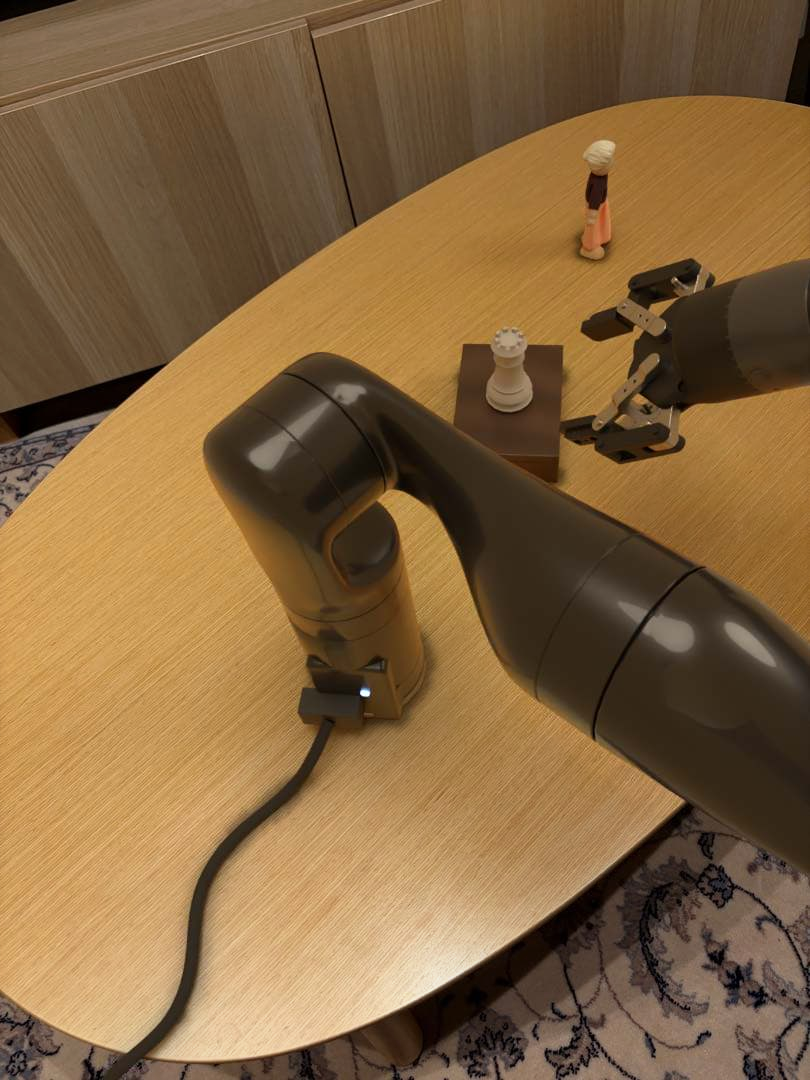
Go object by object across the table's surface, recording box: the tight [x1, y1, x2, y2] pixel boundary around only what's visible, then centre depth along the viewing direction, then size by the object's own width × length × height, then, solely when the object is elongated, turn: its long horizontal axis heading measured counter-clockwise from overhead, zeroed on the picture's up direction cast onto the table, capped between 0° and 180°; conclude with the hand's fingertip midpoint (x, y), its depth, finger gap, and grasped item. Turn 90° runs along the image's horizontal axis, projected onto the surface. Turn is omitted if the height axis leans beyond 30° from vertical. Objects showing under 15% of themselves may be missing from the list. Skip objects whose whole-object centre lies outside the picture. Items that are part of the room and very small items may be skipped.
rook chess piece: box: [486, 325, 533, 412], centre depth 79 cm, size 4×4×8 cm
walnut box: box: [452, 343, 564, 483], centre depth 85 cm, size 14×10×4 cm
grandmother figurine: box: [579, 139, 616, 260], centre depth 94 cm, size 8×4×13 cm, turn 179°
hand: (577, 381), depth 67 cm, fingers open, 8 cm apart
